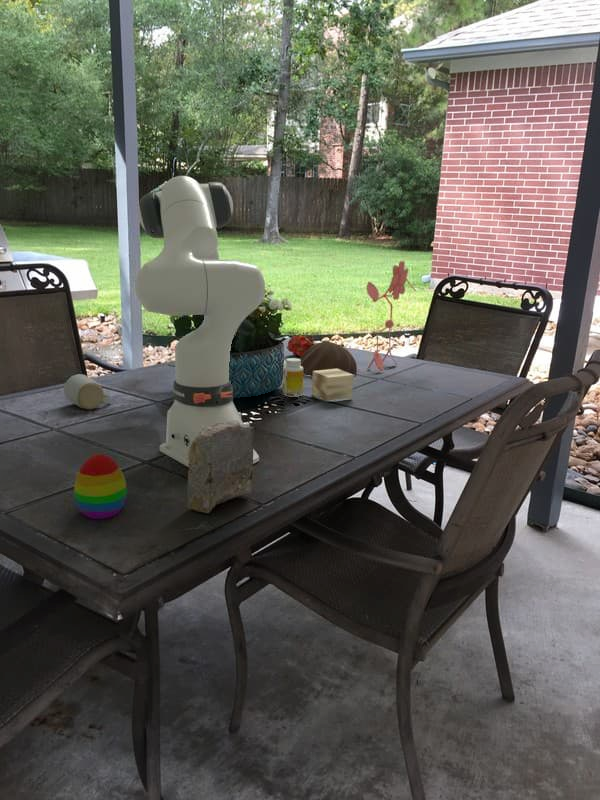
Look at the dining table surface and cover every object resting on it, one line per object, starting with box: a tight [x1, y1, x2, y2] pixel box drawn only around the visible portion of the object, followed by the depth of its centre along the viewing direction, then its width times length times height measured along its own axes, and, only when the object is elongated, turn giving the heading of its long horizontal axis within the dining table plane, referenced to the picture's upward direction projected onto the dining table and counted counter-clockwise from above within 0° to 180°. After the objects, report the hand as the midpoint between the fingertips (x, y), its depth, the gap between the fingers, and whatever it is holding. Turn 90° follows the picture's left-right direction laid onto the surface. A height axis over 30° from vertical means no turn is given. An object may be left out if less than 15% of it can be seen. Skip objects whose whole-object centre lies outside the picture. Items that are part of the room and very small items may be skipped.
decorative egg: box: [73, 453, 127, 520], centre depth 108 cm, size 8×8×10 cm
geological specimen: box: [187, 420, 255, 514], centre depth 111 cm, size 11×6×15 cm, turn 141°
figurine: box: [357, 260, 416, 372], centre depth 211 cm, size 15×26×35 cm, turn 147°
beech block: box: [311, 369, 354, 401], centre depth 180 cm, size 8×8×7 cm
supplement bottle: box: [282, 357, 304, 398], centre depth 181 cm, size 6×6×10 cm
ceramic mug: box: [63, 373, 113, 411], centre depth 166 cm, size 11×8×8 cm
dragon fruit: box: [286, 334, 316, 358], centre depth 230 cm, size 8×8×12 cm
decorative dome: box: [298, 341, 358, 376], centre depth 210 cm, size 19×20×10 cm
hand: (292, 376), depth 180 cm, fingers open, 8 cm apart
